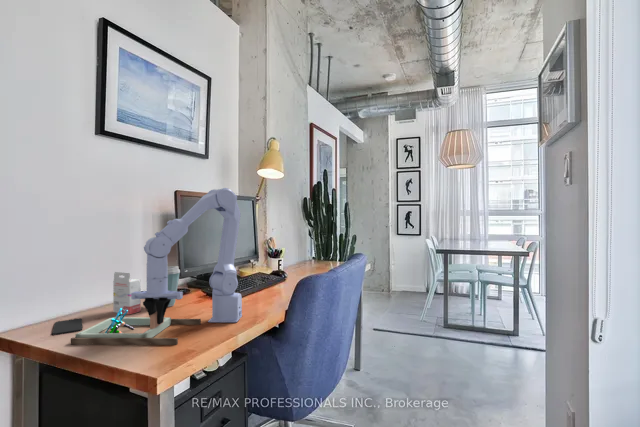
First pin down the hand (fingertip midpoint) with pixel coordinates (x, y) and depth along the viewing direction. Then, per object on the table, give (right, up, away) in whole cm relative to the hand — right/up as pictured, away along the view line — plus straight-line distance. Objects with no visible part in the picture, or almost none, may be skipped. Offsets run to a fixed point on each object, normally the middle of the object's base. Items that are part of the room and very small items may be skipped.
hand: (157, 323), depth 103 cm
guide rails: (-5, -3, 0) cm, 6 cm away
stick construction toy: (-11, -3, 0) cm, 12 cm away
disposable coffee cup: (-12, -4, +32) cm, 34 cm away
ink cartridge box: (-22, -4, +23) cm, 32 cm away
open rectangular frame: (-9, -3, 0) cm, 10 cm away
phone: (-31, -4, +6) cm, 32 cm away
